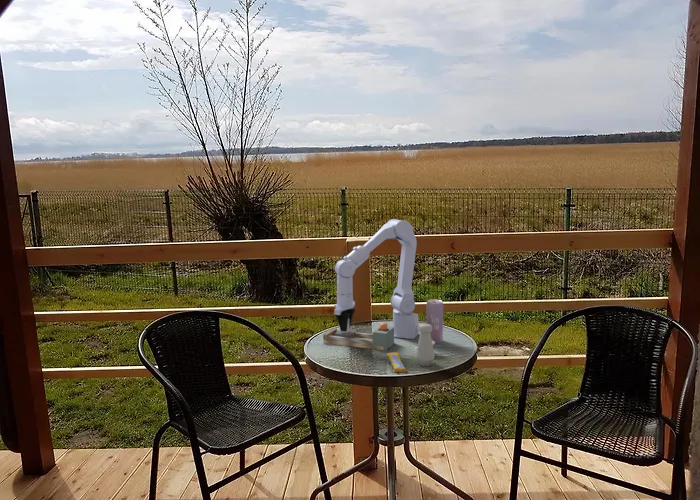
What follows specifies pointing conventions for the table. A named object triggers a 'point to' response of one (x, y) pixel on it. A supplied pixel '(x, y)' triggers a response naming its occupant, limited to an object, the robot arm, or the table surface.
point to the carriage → (346, 333)
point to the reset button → (383, 326)
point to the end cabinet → (383, 338)
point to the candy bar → (396, 362)
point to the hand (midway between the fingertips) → (345, 329)
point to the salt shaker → (425, 346)
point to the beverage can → (435, 319)
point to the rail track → (350, 340)
